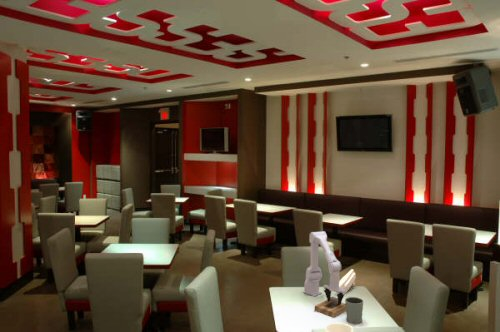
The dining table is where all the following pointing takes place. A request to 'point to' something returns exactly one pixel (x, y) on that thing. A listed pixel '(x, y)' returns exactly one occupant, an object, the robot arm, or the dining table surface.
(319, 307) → the oak well block
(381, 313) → the dining table surface
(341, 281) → the shelf bracket
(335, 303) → the steel bracket
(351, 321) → the gray cup
